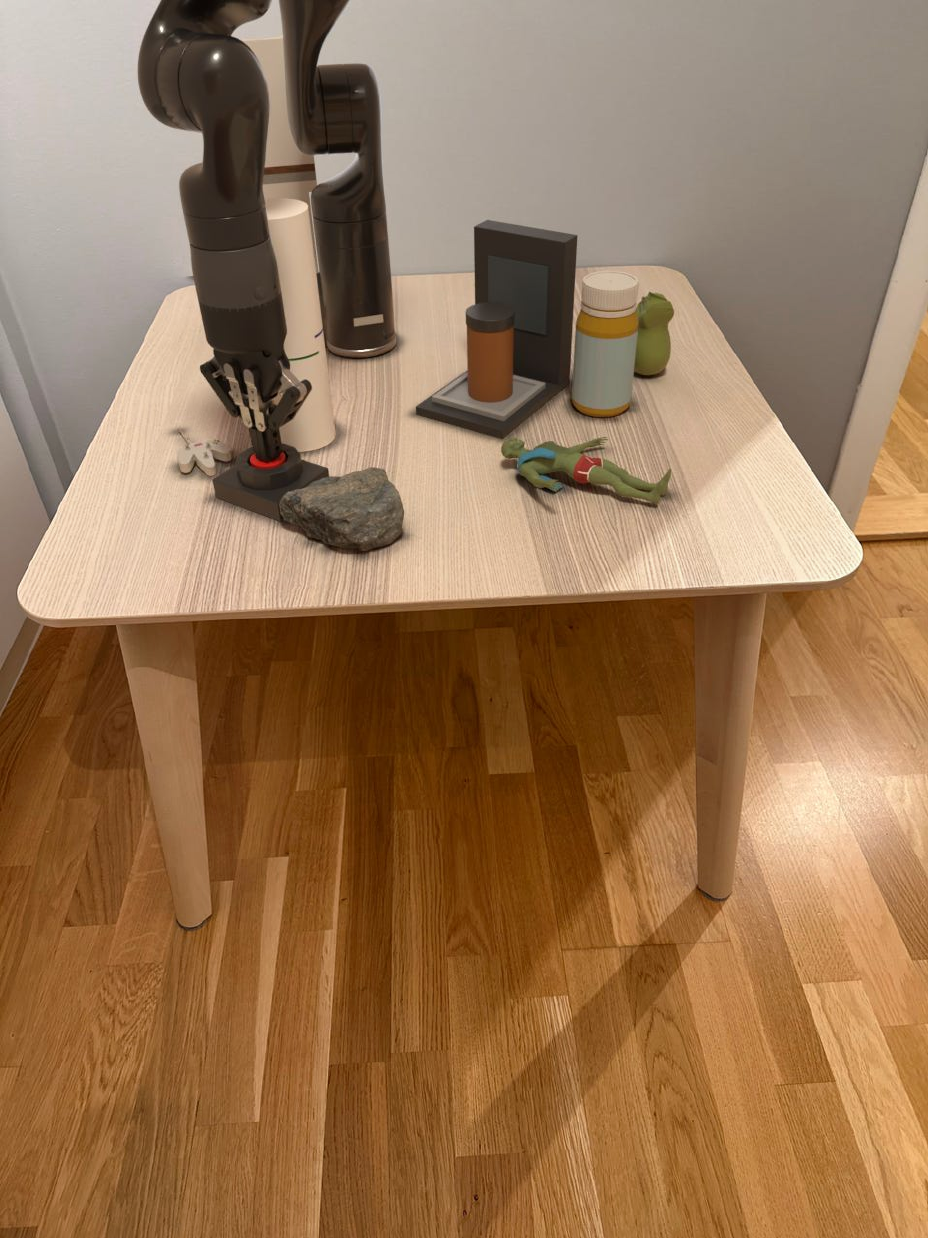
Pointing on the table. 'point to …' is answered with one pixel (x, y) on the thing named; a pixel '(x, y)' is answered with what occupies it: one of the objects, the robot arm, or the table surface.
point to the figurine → (578, 468)
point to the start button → (264, 465)
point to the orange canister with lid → (490, 351)
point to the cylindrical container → (302, 323)
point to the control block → (266, 482)
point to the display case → (282, 134)
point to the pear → (653, 334)
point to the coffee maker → (518, 324)
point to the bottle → (605, 344)
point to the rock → (348, 509)
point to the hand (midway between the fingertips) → (268, 457)
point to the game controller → (202, 455)
